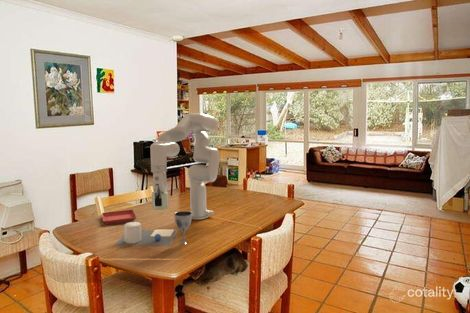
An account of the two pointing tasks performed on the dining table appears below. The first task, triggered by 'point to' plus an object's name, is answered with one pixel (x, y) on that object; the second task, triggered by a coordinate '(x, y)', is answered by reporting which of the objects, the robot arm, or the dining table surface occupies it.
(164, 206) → the sage cup
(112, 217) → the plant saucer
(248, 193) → the dining table surface
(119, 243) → the mat
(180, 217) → the wine glass
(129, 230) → the white cup
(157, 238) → the ball
